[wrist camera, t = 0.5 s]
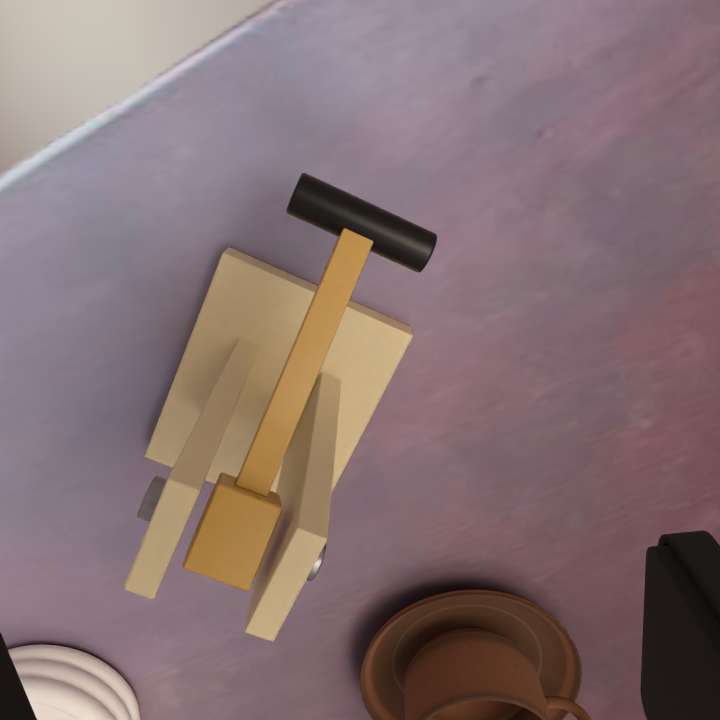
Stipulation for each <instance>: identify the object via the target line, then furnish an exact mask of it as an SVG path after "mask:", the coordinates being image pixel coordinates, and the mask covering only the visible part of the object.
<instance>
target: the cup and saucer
mask: <svg viewBox="0 0 720 720" xmlns="http://www.w3.org/2000/svg"><path fill="white" fill-rule="evenodd" d="M581 676H582V671H581V662H580V657H579V654H578V651H577V648H576V646H575V644H574V642H573V640H572V639H571V637H570V636H569V634H568V633H567V631H566V630H565V629H564V627H563V626H562V625H561V624H560V623H559V622H558V621H557V620H556V619H555V618H554V617H553V616H552V615H551V614H549V613H548V612H547V611H545V610H544V609H542V608H541V607H539V606H538V605H536V604H534V603H532V602H530V601H528V600H525V599H523V598H520V597H518V596H514V595H511V594H507V593H502V592H497V591H489V590H461V591H452V592H447V593H442V594H438V595H435V596H431V597H428V598H426V599H423V600H420V601H418V602H416V603H414V604H412V605H410V606H408V607H406V608H405V609H403V610H401V611H400V612H399V613H397V614H396V615H394V616H393V617H392V618H391V619H390V620H388V621H387V622H386V623H385V624H384V625H383V626H382V627H381V628H380V629H379V631H378V632H377V633H376V635H375V636H374V638H373V639H372V641H371V642H370V644H369V646H368V648H367V651H366V653H365V656H364V659H363V663H362V667H361V672H360V690H361V695H362V699H363V702H364V704H365V707H366V709H367V711H368V713H369V714H370V716H371V717H372V719H373V720H563V719H564V717H565V716H566V715H567V714H568V712H570V713H571V714H573V715H574V716H575V717H576V718H577V719H578V720H591V718H590V717H589V715H588V714H587V713H586V711H585V710H584V709H583V708H582V707H580V706H579V705H578V704H576V703H575V700H576V698H577V695H578V692H579V689H580V684H581Z"/></svg>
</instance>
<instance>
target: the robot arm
mask: <svg viewBox="0 0 720 720" xmlns="http://www.w3.org/2000/svg"><path fill="white" fill-rule="evenodd" d="M641 699H642V704H643V708H644V712H645V715H646V718H647V720H720V546H719V544H718V543H717V542H716V540H715V539H714V538H713V537H712V536H711V535H710V534H709V533H708V532H706V531H694V532H684V533H673V534H664V535H662V536H661V537H660V539H659V543H658V546H653V547H649V548H648V549H647V553H646V571H645V595H644V619H643V643H642V667H641ZM0 720H37V718H36V716H35V714H34V711H33V709H32V707H31V704H30V702H29V699H28V697H27V695H26V692H25V690H24V687H23V685H22V683H21V680H20V678H19V676H18V673H17V671H16V668H15V666H14V664H13V661H12V659H11V657H10V654H9V652H8V649H7V647H6V645H5V642H4V640H3V638H2V635H1V633H0Z"/></svg>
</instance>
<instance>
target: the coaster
mask: <svg viewBox="0 0 720 720" xmlns="http://www.w3.org/2000/svg"><path fill="white" fill-rule="evenodd" d="M8 652H9V654H10V657H11V659H12V661H13V664H14V666H15V668H16V671H17V673H18V676H19V678H20V680H21V683H22V685H23V687H24V690H25V692H26V695H27V697H28V699H29V702H30V704H31V707H32V709H33V711H34V714H35V716H36V718H37V720H140V712H139V706H138V702H137V699H136V697H135V695H134V692H133V691H132V689H131V688H130V686H129V685H128V683H127V682H126V681H125V680H124V678H123V677H122V676H121V675H120V674H119V673H117V672H116V671H115V670H114V669H113V668H111V667H110V666H109V665H107V664H106V663H104V662H103V661H101V660H100V659H98V658H96V657H94V656H92V655H90V654H87V653H85V652H82V651H79V650H76V649H72V648H68V647H63V646H57V645H28V646H21V647H17V648H13V649H9V650H8Z"/></svg>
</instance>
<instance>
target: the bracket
mask: <svg viewBox="0 0 720 720" xmlns="http://www.w3.org/2000/svg"><path fill="white" fill-rule="evenodd" d="M316 289H317V285H314V284H312V283H310V282H308V281H305V280H303V279H301V278H298V277H296V276H294V275H292V274H289V273H287V272H285V271H283V270H280V269H278V268H276V267H273V266H271V265H269V264H267V263H264V262H262V261H260V260H258V259H255V258H253V257H251V256H248V255H246V254H244V253H242V252H239V251H237V250H235V249H233V248H230V247H228V248H227V249H226V250H225V251H224V252H223V253H222V256H221V258H220V261H219V263H218V266H217V269H216V271H215V274H214V276H213V279H212V282H211V284H210V287H209V290H208V292H207V295H206V297H205V300H204V303H203V305H202V308H201V310H200V313H199V316H198V318H197V321H196V323H195V326H194V329H193V331H192V334H191V336H190V339H189V342H188V344H187V347H186V349H185V352H184V355H183V357H182V360H181V362H180V365H179V368H178V370H177V373H176V375H175V378H174V381H173V383H172V386H171V388H170V391H169V394H168V396H167V399H166V402H165V404H164V407H163V409H162V412H161V415H160V417H159V420H158V422H157V425H156V428H155V430H154V433H153V435H152V438H151V441H150V443H149V446H148V448H147V451H146V454H145V457H146V458H148V459H151V460H153V461H156V462H159V463H161V464H164V465H166V466H169V467H172V468H173V469H172V471H171V473H170V475H169V477H168V479H167V480H166V479H164V478H161V477H158V476H155V477H154V479H153V480H152V482H151V484H150V486H149V488H148V490H147V492H146V495H145V497H144V499H143V501H142V504H141V506H140V509H139V511H138V515H137V517H138V518H140V519H143V520H146V521H148V522H150V523H149V525H148V528H147V530H146V533H145V535H144V538H143V540H142V542H141V545H140V547H139V550H138V552H137V555H136V557H135V560H134V562H133V565H132V567H131V570H130V572H129V575H128V577H127V580H126V582H125V584H124V589H125V590H127V591H130V592H133V593H136V594H139V595H142V596H144V597H147V598H150V599H153V598H154V597H155V595H156V593H157V591H158V588H159V586H160V584H161V581H162V579H163V577H164V574H165V572H166V570H167V567H168V565H169V563H170V561H171V558H172V556H173V554H174V551H175V549H176V547H177V544H178V542H179V540H180V537H181V535H182V533H183V530H184V528H185V526H186V523H187V521H188V519H189V516H190V514H191V512H192V509H193V507H194V505H195V502H196V500H197V498H198V495H199V493H200V491H201V488H202V486H203V484H204V481H205V480H206V481H208V482H211V483H213V484H216V481H217V479H218V477H219V474H220V473H226V474H228V475H231V476H233V477H236V478H237V476H238V473H239V471H240V469H241V466H242V464H243V462H244V459H245V457H246V454H247V452H248V450H249V447H250V445H251V443H252V440H253V438H254V435H255V433H256V431H257V428H258V426H259V424H260V421H261V419H262V417H263V414H264V412H265V409H266V407H267V405H268V402H269V400H270V398H271V395H272V393H273V390H274V388H275V386H276V383H277V381H278V379H279V376H280V374H281V372H282V369H283V367H284V364H285V362H286V360H287V357H288V355H289V353H290V350H291V348H292V346H293V343H294V341H295V338H296V336H297V334H298V331H299V329H300V327H301V324H302V322H303V319H304V317H305V315H306V312H307V310H308V308H309V305H310V303H311V301H312V298H313V296H314V293H315V291H316ZM412 337H413V334H412V328H411V327H410V326H408V325H405V324H403V323H401V322H398V321H396V320H394V319H392V318H389V317H387V316H385V315H383V314H380V313H378V312H376V311H373V310H371V309H369V308H367V307H364V306H362V305H360V304H358V303H355V302H353V301H351V300H349V302H348V305H347V307H346V309H345V312H344V314H343V317H342V319H341V321H340V324H339V326H338V329H337V331H336V333H335V336H334V338H333V340H332V343H331V345H330V348H329V350H328V352H327V355H326V357H325V360H324V362H323V364H322V367H321V369H320V372H319V374H318V376H317V379H316V381H315V384H314V386H313V388H312V391H311V393H310V396H309V398H308V400H307V403H306V405H305V407H304V410H303V412H302V415H301V417H300V419H299V422H298V424H297V427H296V429H295V431H294V434H293V436H292V439H291V441H290V443H289V446H288V448H287V451H286V453H285V455H284V458H283V460H282V463H281V465H280V467H279V470H278V472H277V475H276V477H275V479H274V482H273V484H272V486H271V489H270V491H272V492H275V493H277V494H279V496H280V500H281V504H282V508H283V511H282V513H281V516H280V518H279V520H278V523H277V525H276V528H275V530H274V532H273V535H272V537H271V540H270V542H269V544H268V547H267V549H266V552H265V554H264V556H263V559H262V561H261V564H260V566H259V569H258V573H257V578H256V582H255V587H254V591H253V596H252V600H251V604H250V609H249V613H248V618H247V622H246V626H245V632H246V633H249V634H252V635H254V636H257V637H260V638H263V639H266V640H269V641H274V639H275V637H276V635H277V634H278V632H279V630H280V628H281V626H282V624H283V622H284V620H285V619H286V617H287V615H288V613H289V611H290V609H291V607H292V605H293V604H294V602H295V600H296V598H297V596H298V594H299V592H300V590H301V589H302V587H303V585H304V583H305V581H306V580H308V581H312V580H313V579H314V578H315V576H316V575H317V573H318V571H319V569H320V566H321V564H322V561H323V558H324V554H325V550H326V542H327V538H328V527H329V516H330V504H331V493H332V491H333V489H334V487H335V485H336V484H337V482H338V480H339V478H340V476H341V474H342V472H343V470H344V468H345V466H346V464H347V462H348V460H349V459H350V457H351V455H352V453H353V451H354V449H355V447H356V445H357V443H358V441H359V439H360V437H361V435H362V433H363V432H364V430H365V428H366V426H367V424H368V422H369V420H370V418H371V416H372V414H373V412H374V410H375V408H376V407H377V405H378V403H379V401H380V399H381V397H382V395H383V393H384V391H385V389H386V387H387V385H388V383H389V382H390V380H391V378H392V376H393V374H394V372H395V370H396V368H397V366H398V364H399V362H400V360H401V358H402V356H403V355H404V353H405V351H406V349H407V347H408V345H409V343H410V341H411V339H412Z"/></svg>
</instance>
